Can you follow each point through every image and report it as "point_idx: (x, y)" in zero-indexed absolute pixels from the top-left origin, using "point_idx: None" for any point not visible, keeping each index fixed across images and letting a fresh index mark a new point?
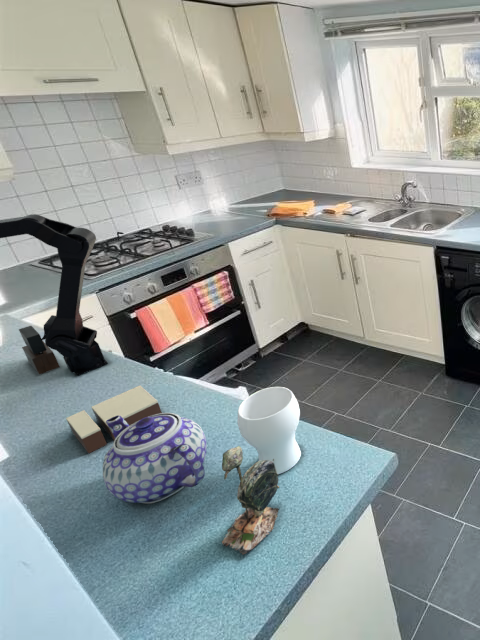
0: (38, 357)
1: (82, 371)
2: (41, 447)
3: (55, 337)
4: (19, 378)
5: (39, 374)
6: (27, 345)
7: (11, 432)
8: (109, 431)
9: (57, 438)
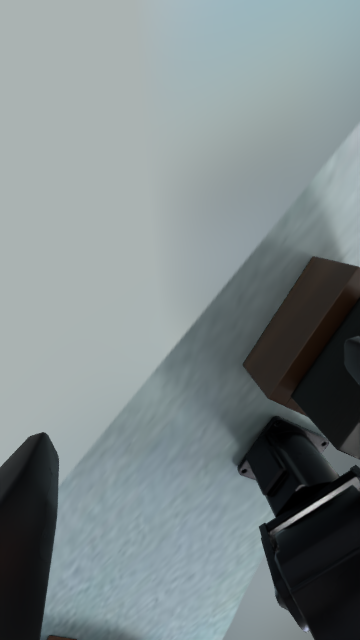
0: (279, 403)
1: (251, 473)
2: None
3: (301, 626)
4: (223, 324)
5: (243, 365)
6: (346, 330)
7: None
8: None
9: None
